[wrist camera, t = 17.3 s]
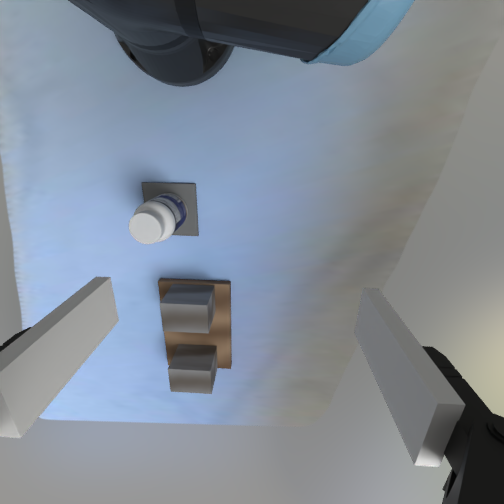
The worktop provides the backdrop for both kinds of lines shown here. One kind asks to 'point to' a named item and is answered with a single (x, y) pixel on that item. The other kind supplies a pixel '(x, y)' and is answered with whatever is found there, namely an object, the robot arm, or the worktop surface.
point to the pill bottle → (158, 218)
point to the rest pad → (185, 193)
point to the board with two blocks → (196, 331)
